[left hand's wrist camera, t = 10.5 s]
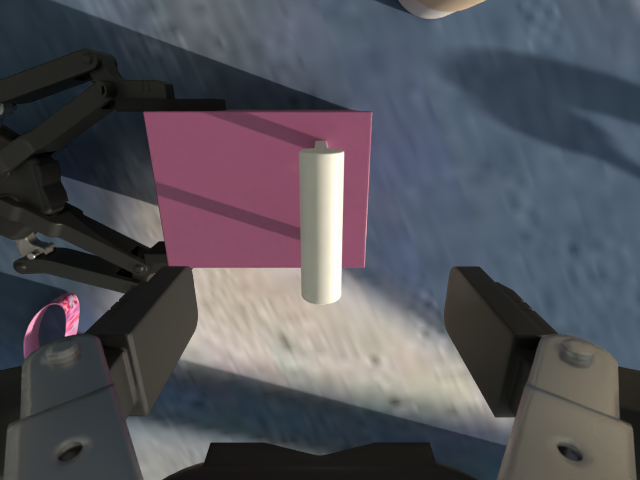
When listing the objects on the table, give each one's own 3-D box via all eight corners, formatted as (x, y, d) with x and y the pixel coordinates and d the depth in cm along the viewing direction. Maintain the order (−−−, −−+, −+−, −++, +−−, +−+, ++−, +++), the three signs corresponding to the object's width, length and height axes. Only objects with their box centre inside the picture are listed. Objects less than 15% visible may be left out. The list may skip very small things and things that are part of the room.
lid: (369, 111, 22) (398, 114, 14) (362, 261, 26) (382, 331, 18) (151, 111, 22) (55, 114, 14) (174, 261, 26) (108, 331, 18)
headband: (45, 284, 36) (29, 294, 34) (84, 296, 37) (71, 307, 35) (32, 364, 40) (17, 378, 38) (68, 374, 41) (55, 389, 38)
